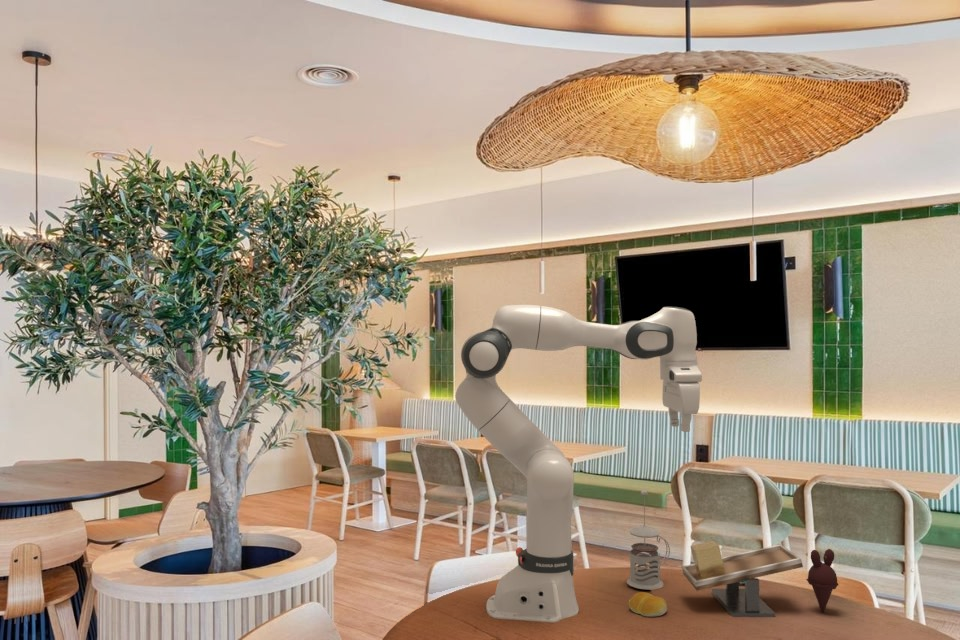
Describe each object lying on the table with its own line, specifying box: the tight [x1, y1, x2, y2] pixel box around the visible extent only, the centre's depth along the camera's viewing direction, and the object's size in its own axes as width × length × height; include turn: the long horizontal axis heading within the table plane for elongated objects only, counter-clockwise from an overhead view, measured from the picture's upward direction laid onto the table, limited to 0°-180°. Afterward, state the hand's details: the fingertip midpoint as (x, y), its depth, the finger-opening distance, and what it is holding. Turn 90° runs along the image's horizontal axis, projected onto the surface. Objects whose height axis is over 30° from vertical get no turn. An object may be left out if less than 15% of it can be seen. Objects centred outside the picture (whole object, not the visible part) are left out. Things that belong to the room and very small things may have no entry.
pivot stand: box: [711, 577, 777, 618], centre depth 174 cm, size 10×16×9 cm, turn 179°
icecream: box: [806, 548, 839, 613], centre depth 169 cm, size 7×7×15 cm
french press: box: [626, 489, 671, 590], centre depth 190 cm, size 10×12×25 cm
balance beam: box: [681, 543, 804, 592], centre depth 174 cm, size 26×12×3 cm, turn 89°
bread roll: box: [628, 591, 668, 618], centre depth 169 cm, size 8×9×4 cm
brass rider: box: [690, 540, 726, 579], centre depth 174 cm, size 6×4×7 cm, turn 89°
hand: (679, 428), depth 172 cm, fingers open, 8 cm apart
